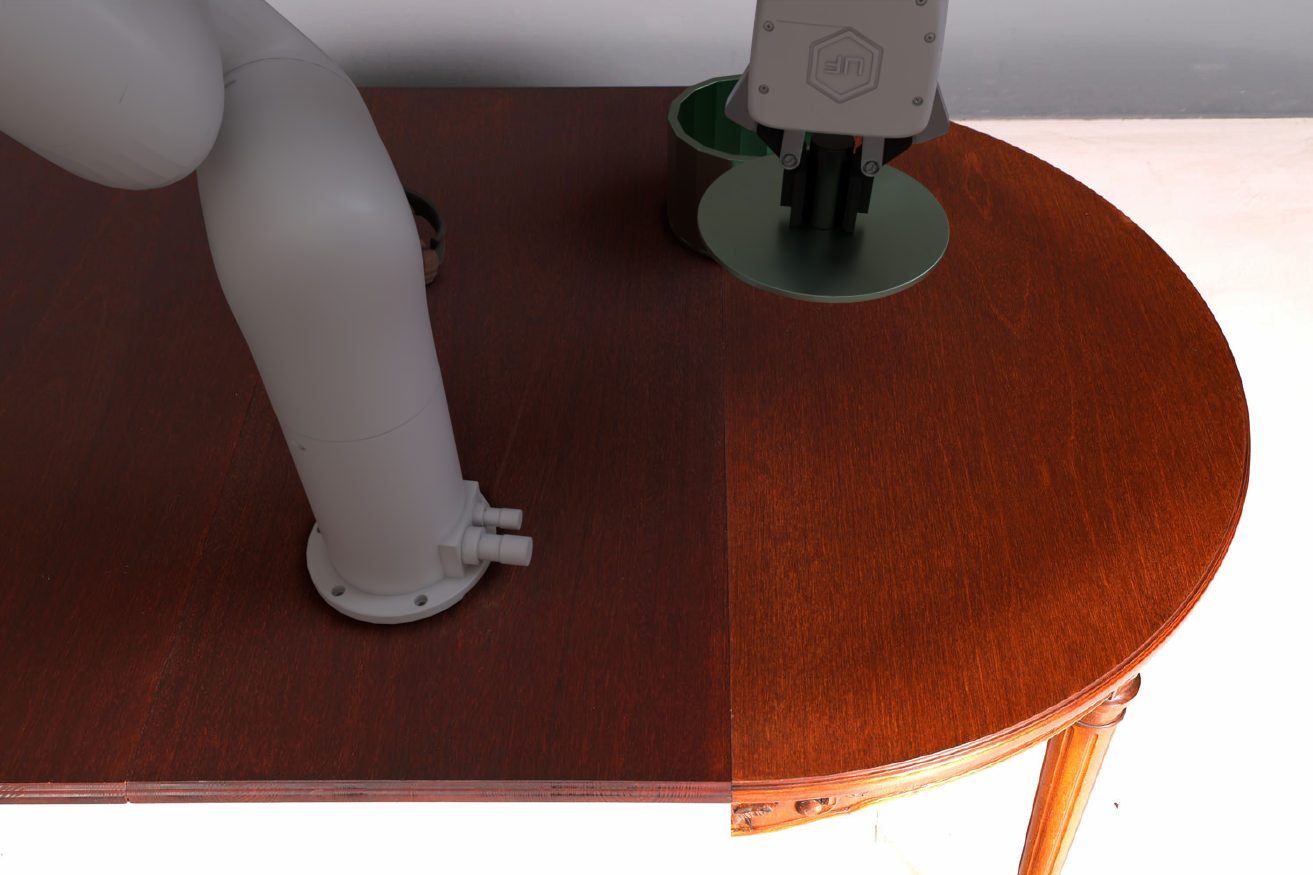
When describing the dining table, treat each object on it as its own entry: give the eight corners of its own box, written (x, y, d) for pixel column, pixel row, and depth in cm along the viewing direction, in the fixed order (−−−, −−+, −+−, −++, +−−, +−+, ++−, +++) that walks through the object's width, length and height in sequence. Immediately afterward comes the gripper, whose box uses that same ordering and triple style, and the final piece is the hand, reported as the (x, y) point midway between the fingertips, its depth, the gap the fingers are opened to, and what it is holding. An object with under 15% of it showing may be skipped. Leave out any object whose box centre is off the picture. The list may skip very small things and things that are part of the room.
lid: (943, 175, 70) (963, 83, 66) (949, 324, 60) (975, 228, 55) (713, 155, 72) (716, 65, 67) (680, 297, 62) (682, 202, 57)
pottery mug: (368, 230, 97) (399, 163, 92) (442, 297, 97) (478, 234, 92) (275, 272, 88) (304, 200, 83) (357, 347, 88) (392, 280, 83)
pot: (826, 165, 104) (840, 65, 97) (820, 290, 91) (835, 186, 83) (681, 154, 106) (683, 55, 98) (654, 276, 92) (653, 172, 84)
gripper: (691, -75, 50) (685, 240, 64) (1038, -54, 48) (956, 266, 62) (711, -130, 55) (701, 173, 69) (1025, -113, 53) (952, 194, 67)
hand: (822, 214), depth 65 cm, fingers closed on lid, 2 cm apart
